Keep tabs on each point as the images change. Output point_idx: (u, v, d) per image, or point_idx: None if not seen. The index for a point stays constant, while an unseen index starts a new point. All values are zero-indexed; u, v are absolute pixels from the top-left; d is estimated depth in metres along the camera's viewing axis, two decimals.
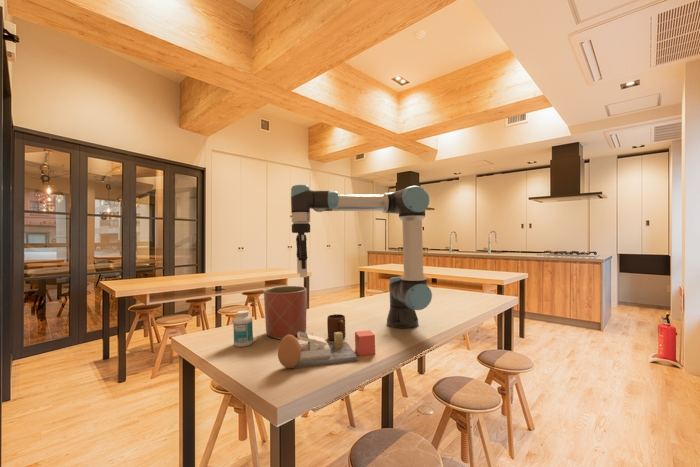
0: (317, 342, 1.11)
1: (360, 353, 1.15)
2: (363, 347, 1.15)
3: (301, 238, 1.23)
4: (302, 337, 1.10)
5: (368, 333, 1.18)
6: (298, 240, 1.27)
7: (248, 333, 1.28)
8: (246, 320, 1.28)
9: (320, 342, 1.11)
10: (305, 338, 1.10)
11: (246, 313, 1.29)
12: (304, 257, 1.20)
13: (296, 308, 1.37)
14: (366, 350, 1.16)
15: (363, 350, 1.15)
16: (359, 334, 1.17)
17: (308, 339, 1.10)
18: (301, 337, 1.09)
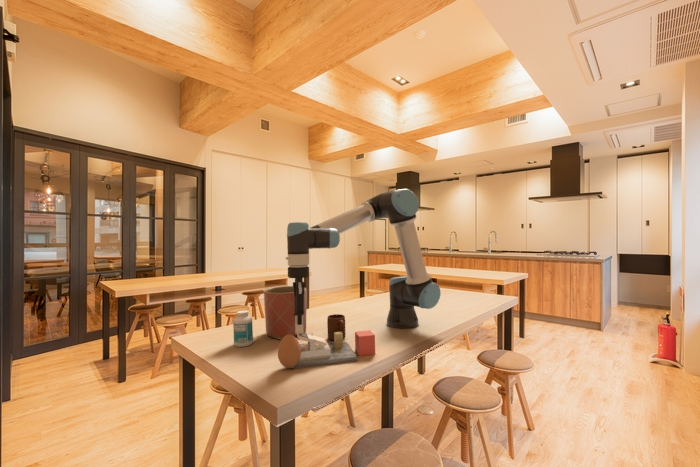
0: (317, 342, 1.11)
1: (360, 353, 1.15)
2: (363, 347, 1.15)
3: (298, 293, 1.06)
4: (302, 337, 1.10)
5: (368, 333, 1.18)
6: (295, 288, 1.10)
7: (248, 333, 1.28)
8: (246, 320, 1.28)
9: (320, 342, 1.11)
10: (305, 338, 1.10)
11: (246, 313, 1.29)
12: (300, 313, 1.08)
13: None
14: (366, 350, 1.16)
15: (363, 350, 1.15)
16: (359, 334, 1.17)
17: (308, 339, 1.10)
18: (301, 337, 1.09)
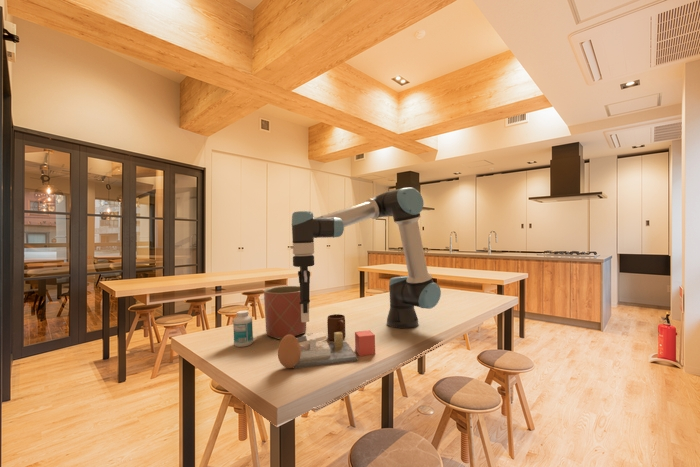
0: (317, 339, 1.11)
1: (360, 353, 1.15)
2: (363, 347, 1.15)
3: (304, 281, 1.07)
4: (301, 342, 1.09)
5: (368, 333, 1.18)
6: (300, 277, 1.10)
7: (248, 333, 1.28)
8: (246, 320, 1.28)
9: (320, 338, 1.11)
10: (304, 342, 1.10)
11: (246, 313, 1.29)
12: (306, 301, 1.09)
13: (296, 308, 1.37)
14: (366, 350, 1.16)
15: (363, 350, 1.15)
16: (359, 334, 1.17)
17: (308, 341, 1.10)
18: (300, 343, 1.09)
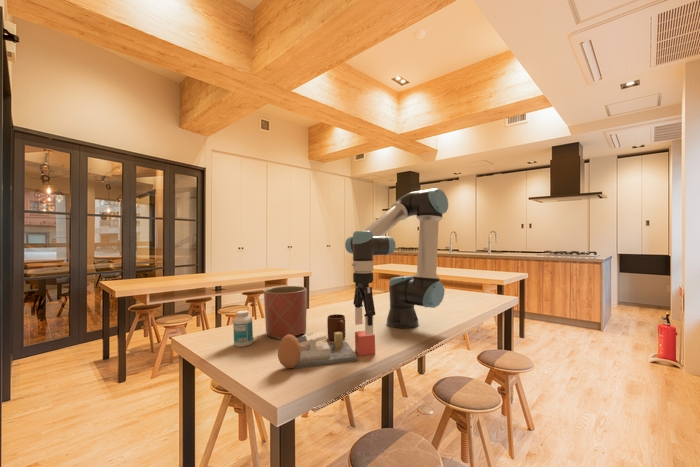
0: (317, 339, 1.11)
1: (360, 353, 1.15)
2: (363, 347, 1.15)
3: (367, 291, 1.12)
4: (301, 342, 1.09)
5: None
6: (361, 292, 1.16)
7: (248, 333, 1.28)
8: (246, 320, 1.28)
9: (320, 338, 1.11)
10: (304, 342, 1.10)
11: (246, 313, 1.29)
12: (372, 313, 1.09)
13: (296, 308, 1.37)
14: (366, 350, 1.16)
15: (363, 350, 1.15)
16: (359, 334, 1.17)
17: (308, 341, 1.10)
18: (300, 343, 1.09)
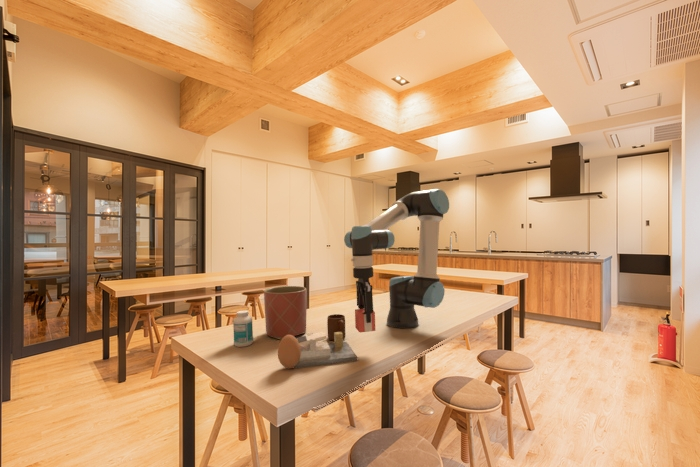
0: (317, 339, 1.11)
1: (360, 330, 1.15)
2: (363, 324, 1.16)
3: (367, 290, 1.12)
4: (301, 342, 1.09)
5: None
6: (362, 288, 1.16)
7: (248, 333, 1.28)
8: (246, 320, 1.28)
9: (320, 338, 1.11)
10: (304, 342, 1.10)
11: (246, 313, 1.29)
12: (370, 311, 1.13)
13: (296, 308, 1.37)
14: None
15: (363, 326, 1.16)
16: (359, 311, 1.18)
17: (308, 341, 1.10)
18: (300, 343, 1.09)
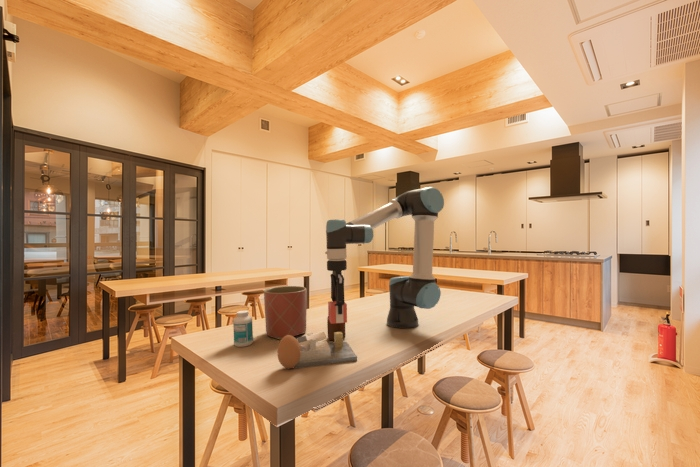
0: (317, 339, 1.11)
1: (332, 321, 1.18)
2: (335, 315, 1.18)
3: (339, 282, 1.15)
4: (301, 342, 1.09)
5: None
6: (334, 280, 1.19)
7: (248, 333, 1.28)
8: (246, 320, 1.28)
9: (320, 338, 1.11)
10: (304, 342, 1.10)
11: (246, 313, 1.29)
12: (341, 303, 1.15)
13: (296, 308, 1.37)
14: None
15: (335, 318, 1.18)
16: (331, 303, 1.20)
17: (308, 341, 1.10)
18: (300, 343, 1.09)
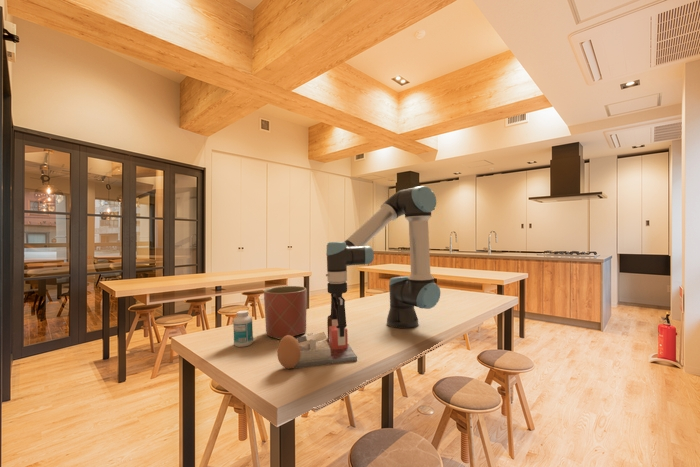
0: (317, 339, 1.11)
1: (332, 347, 1.18)
2: (335, 341, 1.18)
3: (340, 303, 1.15)
4: (301, 342, 1.09)
5: None
6: (335, 302, 1.19)
7: (248, 333, 1.28)
8: (246, 320, 1.28)
9: (320, 338, 1.11)
10: (304, 342, 1.10)
11: (246, 313, 1.29)
12: (343, 325, 1.13)
13: (296, 308, 1.37)
14: None
15: (335, 344, 1.18)
16: (332, 328, 1.20)
17: (308, 341, 1.10)
18: (300, 343, 1.09)
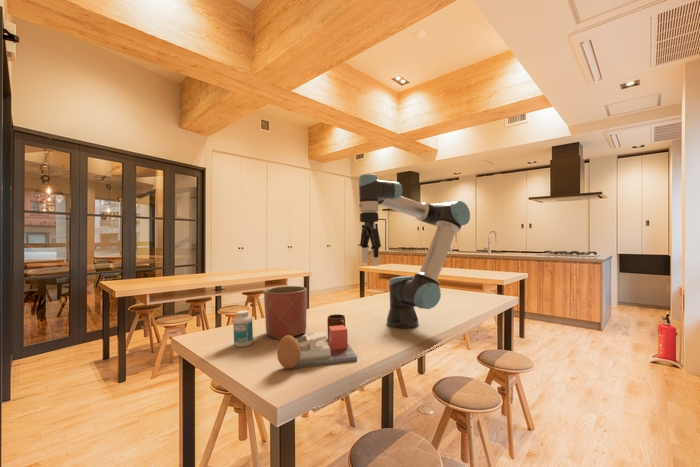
0: (317, 339, 1.11)
1: (332, 347, 1.18)
2: (335, 341, 1.18)
3: (373, 227, 1.23)
4: (301, 342, 1.09)
5: (341, 327, 1.21)
6: (368, 229, 1.27)
7: (248, 333, 1.28)
8: (246, 320, 1.28)
9: (320, 338, 1.11)
10: (304, 342, 1.10)
11: (246, 313, 1.29)
12: (378, 245, 1.20)
13: (296, 308, 1.37)
14: (339, 344, 1.18)
15: (335, 344, 1.18)
16: (332, 328, 1.20)
17: (308, 341, 1.10)
18: (300, 343, 1.09)
